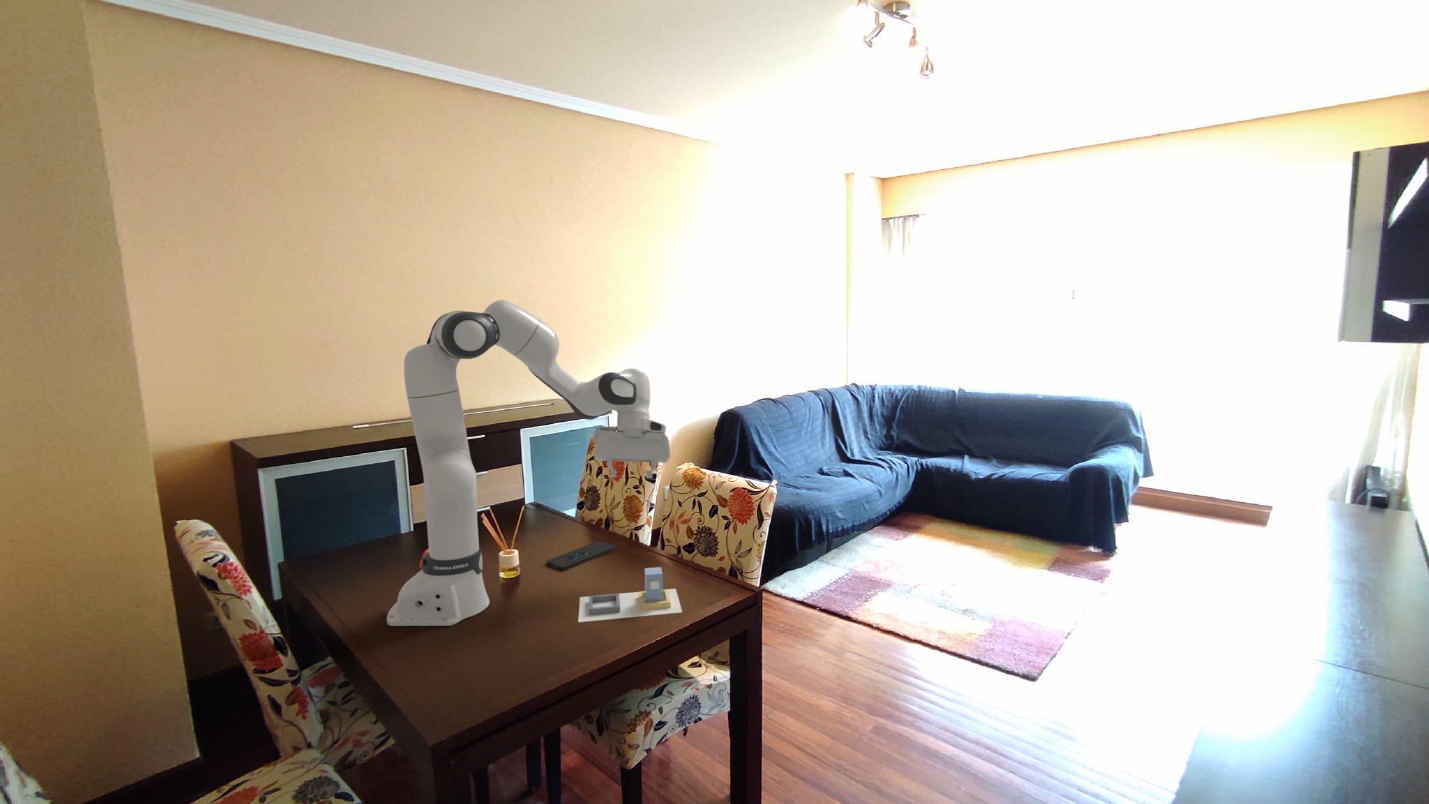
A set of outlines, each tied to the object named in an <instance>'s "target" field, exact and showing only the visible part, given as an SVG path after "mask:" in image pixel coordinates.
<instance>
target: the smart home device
mask: <svg viewBox="0 0 1429 804" xmlns="http://www.w3.org/2000/svg"><path fill="white" fill-rule="evenodd" d="M616 548H617V546H616V545H613V544H610V543H608V542H604V541H600V540H598V541H595V542H593V543H589V544H587V545H585V546H581V547H578V548H575V549H574V550H571V551H568V552H566V553H563V554H560V555H558V556H555V557H552V558H550V559H548V560H546V566H548V567H551V568H553V569H556V570H557V571H562V572H566V571H568V569H569V570H571V569H573V568H576V567H578V566H581V565H583V564H585V562H586V561H588V562H590V560H591V561H593V560H595V558H596V559H598V558H600V557H603V556H605V555H609V554H611V553H613V552H616V550H617V549H616ZM597 557H598V558H597ZM592 559H593V560H592ZM586 563H587V562H586ZM580 564H581V565H580ZM575 566H576V567H575ZM570 568H571V569H570Z"/></svg>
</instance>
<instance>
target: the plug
mask: <svg viewBox="0 0 1429 804" xmlns="http://www.w3.org/2000/svg"><path fill="white" fill-rule="evenodd" d="M663 577H664V575H663V569H662V567H661V566H658V567H648V568H644V591H645V600H646V603H649V602H660V601H663V590H664V581H663V580H664V578H663Z"/></svg>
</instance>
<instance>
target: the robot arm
mask: <svg viewBox="0 0 1429 804" xmlns="http://www.w3.org/2000/svg"><path fill="white" fill-rule="evenodd" d="M493 346H498V347H500V348H502V349H503V350H504V351H506V352H508V353H509V354H510V355H512V356H513V357H515V358H516V359H518V360H519V361H520V362H522V363H523V364H524V365H525V366H526V367H527V369H528V370H529V372H531V374H533V375H534V377H536V378H537V379H538V380H539V381H540V382H541V383H543V384H544V385H545V386H546V387H548V388H549V389H551V391H553V392H554V393H555V394H557V395H558V396H559V397H561V398H562V399H563V400H564V401H565V402H566V403H567V404H568V406H569V407H570V408H571V409H572V411H573V412H574V413H575V414H576V415H577V416H578V417H580V418H582V419H584V420H586V421H587V420H589V421H591V420H592V421H593V420H596V419H598V418H599V417H601V416H603V415H604V414H606V413H608V412H611V411H615V412H617V416H616V426H604V425H601V426H599V427H597V428H595V429H594V432H593V440H594V442H595V444H594V451H593V457H594V459H595V460H596V461H602V462H604V461H605V462H606V466H607V467H608V470H609V471H610V478H617V471H618V470H617V469H614V468H613V462H634V463H650V466H651V469H649V470H646V477H645V478H646V479H653V472H654V470H655V469H656V467H657V464H658V463H661V464H663V463H665V464H666V463H668V461H670V458H671V448H670V447H671V446H670V440H669V437H668V435H667V434H666V432H667V428H666V427H667V426H666V425H665V423H660V422H658V421H656V420H652V419H650V418H651V417H650V411H649V408H650V405H651V384H650V379H649V377H648V375H647V373H646V372H644V371H642V370H640V369H636V368H627V369H623V371H620V372H611V371H610V372H606V373H603V374H600V375H598V376H597V377H595V378H594V379H592V380H589V381H579V380H577V379H576V378H575V377H574V376H572V375H571V374H570V373H568V371H567V370H565V369H564V368H563V367H561V366H560V365H559V363H558V362H557V356H558V354H559V349H560V341H559V337H558V334H557V332H556V331H555V330H554V329H553V328H552V327H551V326H550V325H548V323H546V322H545V321H543V320H541V319H540V318H538V317H537V316H536V315H535V314H532V313H531V312H530V311H528V310H526V309H524V308H522V307H520V306H518V305H516V304H515V303H513V302H510V301H508V300H504V299H500V300H495V301H493V302H492V303H490V304H489V305H488V306H487V307H486V308H485V310H484V311H483V312H475V311H465V310H453V311H450V312H447V313H444V314H442V315H441V316H440V317H439V318H437V319H436V320H435V322H434V324H433V326H432V327H431V330H430V333H429V336H428V338H427V341H426V343H425V344H421V345H417V346H415V347H413V348H411V349H410V350H408V352H406V355H405V356H404V358H403V359H404V361H403V362H404V364H403V370H404V372H403V373H404V386H405V392H406V397H407V398H406V399H407V402H408V408H409V414H410V418H411V423H412V426H413V427H412V428H413V432H414V436H415V441H416V444H417V445H416V446H417V449H418V450H417V451H418V454H419V458H420V463H421V469H422V475H423V487H424V500H425V501H424V503H425V512H426V513H425V515H426V527H427V540H428V543H427V544H428V548H427V549H426V550H425V551H424V552H423V554H422V557H421V558H420V561H419V568H420V571H418V572H416V574H415V575H413V576H412V577H411V578H410V579H409V580H407V581H406V582H405V583H404V585H403V586H402V587H401V589H400V590H399V593H398V596H397V601H396V602H395V604H394V605H392V607H391V608H390V609H389V610H388V613H387V616H386V623H387V625H388V626H390V627H391V626H392V627H393V626H394V627H406V626H407V627H409V626H410V627H413V626H414V627H417V626H418V627H424V626H425V627H427V626H429V627H430V626H431V627H434V626H435V627H436V626H437V627H438V626H439V627H440V626H441V627H442V626H445V627H446V626H449V627H450V626H453V625H456V624H457V623H459V622H461V621H463V620H465V619H467V618H470V617H473V616H476V615H477V614H480V613H481V612H483V611H484V610H485V609H486V608H488V606H489V605H490V598H489V596H488V593H487V590H486V588H485V583H484V577H483V555H482V549H481V546H479V545H480V544H479V543H480V542H479V527H478V488H477V485H478V483H477V471H476V470H475V469H476V468H475V467H474V465H473V461H472V458H471V451H470V447H469V441H468V436H467V435H468V434H467V427H466V420H465V416H464V410H463V404H462V399H461V393H460V389H459V383H458V379H457V368H458V365H459V362H460V361H461V360H471V359H476V358H478V357H481V356H482V355H483V354H485V353H486V352H488V351H489V349H491V348H492V347H493Z"/></svg>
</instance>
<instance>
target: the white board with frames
mask: <svg viewBox="0 0 1429 804" xmlns="http://www.w3.org/2000/svg"><path fill="white" fill-rule="evenodd" d="M678 595H679V594H678V593H677V589H676V588H665V589H664V588H663V601H660V602H649V603H646V600H645V590H643V591H637V592H636V591H634V592H625V593H624V592H623V593H621V592H620V593H611V594H610V593H609V594H599V595H598V594H597V595H589V596H580V597H579V604H578V605H579V606H578V607H579V608H578V609H579V610H578V619H577V620H578V621H577V623H585V622H597V621H605V620H606V621H607V620H617V619H627V618H639V617H648V616H649V617H650V616H657V615H658V616H659V615H671V614H678V613H679V614H680V613H683V610H682V606H681V603H680V598H679V596H678Z"/></svg>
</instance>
